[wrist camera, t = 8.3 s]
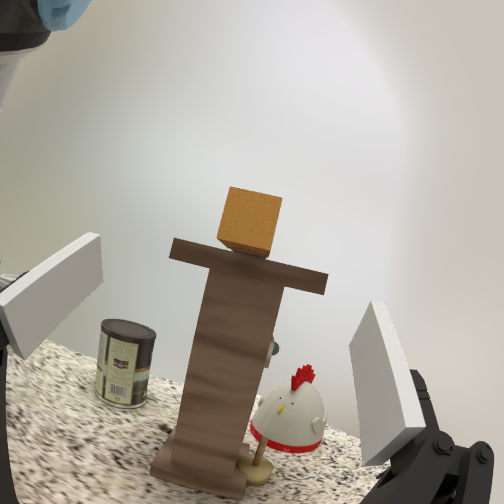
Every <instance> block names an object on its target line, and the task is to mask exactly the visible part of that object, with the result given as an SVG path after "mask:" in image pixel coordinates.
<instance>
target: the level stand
mask: <svg viewBox="0 0 504 504" xmlns="http://www.w3.org/2000/svg"><path fill="white" fill-rule="evenodd" d="M169 258H171V259H175V260H179V261H183V262H186V263H191V264H194V265H199V266H202V267H206V268H210V270H209V274H208V278H207V283H206V287H205V291H204V295H203V300H202V304H201V309H200V313H199V317H198V322H197V327H196V331H195V336H194V340H193V345H192V350H191V354H190V359H189V364H188V369H187V374H186V379H185V384H184V389H183V394H182V399H181V404H180V410H179V415H178V421H177V425H176V426H175V427H174V429H173V431H172V432H171V434H170V435H169V437H168V439H167V440H166V442H165V443H164V445H163V447H162V448H161V450H160V451H159V453H158V455H157V456H156V458H155V459H154V461H153V462H152V464H151V469H150V475H152V476H155V477H158V478H161V479H163V480H166V481H169V482H172V483H175V484H179V485H182V486H185V487H189V488H192V489H196V490H200V491H203V492H207V493H211V494H216V495H220V496H225V497H229V498H235V499H240V500H242V498H243V496H244V493H245V490H246V485H250V486H261V485H264V484H266V483H267V482H268V480H269V477H270V475H271V472H272V470H273V465H272V464H271V462H270V461H268V460H267V459H265V458H263V457H262V456H263V453H264V450H265V447H266V444H267V441H268V438H267V437H261V439H260V442H259V445H258V448H257V451H256V454H255V455H249V446H250V444H246V443H242V442H243V439H244V435H245V432H246V429H247V425H248V422H249V419H250V415H251V412H252V408H253V405H254V401H255V398H256V394H257V391H258V387H259V383H260V380H261V376H262V372H263V369H264V367H265V368H268V367H269V363H270V359H271V356H272V355H276V354H277V353H278V352H279V345H278V344H277V343H276V342H274V338H273V331H274V327H275V322H276V319H277V315H278V311H279V307H280V302H281V298H282V294H283V290H284V286H285V287H290V288H295V289H299V290H303V291H307V292H312V293H316V294H321V295H324V292H325V287H326V283H327V279H328V274H326V273H321V272H317V271H313V270H309V269H304V268H300V267H296V266H291V265H287V264H283V263H279V262H274V261H270V260H266V259H262V258H257V257H253V256H249V255H245V254H240V253H236V252H232V251H228V250H223V249H219V248H215V247H211V246H206V245H202V244H198V243H194V242H189V241H186V240H181V239H177V238H174V240H173V244H172V248H171V252H170V256H169Z"/></svg>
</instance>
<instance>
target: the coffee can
mask: <svg viewBox="0 0 504 504" xmlns="http://www.w3.org/2000/svg"><path fill="white" fill-rule="evenodd" d="M155 339H156V332H155V331H154V330H152V329H150V328H149V327H147V326H144V325H141V324H138V323H135V322H131V321H127V320H121V319H105V320H103V321H102V322H101V334H100V342H99V351H98V361H97V373H96V386H95V393H96V395H97V396H98V397H99V399H101V400H102V401H103V402H105V403H107V404H109V405H112V406H115V407H119V408H127V409H131V408H138V407H140V406H142V405H144V404H145V402H146V394H147V385H148V378H149V372H150V365H151V359H152V353H153V347H154V342H155Z"/></svg>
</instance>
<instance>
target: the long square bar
mask: <svg viewBox="0 0 504 504" xmlns="http://www.w3.org/2000/svg"><path fill="white" fill-rule="evenodd" d="M281 202H282V198H281V197H276V196H272V195H267V194H263V193H258V192H254V191H249V190H244V189H240V188H235V187H230V188H229V192H228V196H227V200H226V203H225V207H224V211H223V215H222V218H221V222H220V226H219V230H218V234H217V239H218V240H220V241H221V242H222V243H223V244H224V245H225V246H226V247H227V248H230V249H231V250H232V251H233V252H236V253H240V254H245V255H249V256H253V257H257V258H262V259H266V258H267V257H269V254H270V250H271V246H272V241H273V237H274V233H275V229H276V224H277V220H278V215H279V211H280V206H281Z"/></svg>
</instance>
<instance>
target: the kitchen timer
mask: <svg viewBox="0 0 504 504" xmlns="http://www.w3.org/2000/svg"><path fill="white" fill-rule="evenodd" d="M311 367H312V366H311V365H308V364H307V366H303V368H302V369H301V368H298V370H297V373H296V376H292V379H291V381H289V382H287V383H284V384H283V385H281V386H279V387H277V388H276V389H275V390H273V391H272V392H271V393H270V394H269V395H267V394H264V395H263V396H262V398H261V400H260V402H259V404H258V406H259V408H258V410H257V411H256V413H255V415H254V417H253V419H252V422H251V425H250V431H251V433H252V434H253V436H254V437H255V438H256V439H257V440H258V441H259V442H260V439H261V437H267V438H268V441H267V444H266V446H268V447H270V448H273V449H276V450H279V451H283V452H289V453H304V452H308V451H312V450H313V449H315V448H317V447H318V445H319V444H320V442H321V439H322V437H323V432H324V428H325V425H326V420H327V415H328V412H324V406H323V403H322V399H321V397H320V395H319V393H318V392H317V390H316V389H315V388H314V387H313V386H312V385H311V383H312V381H313V379H314V377H315V374H313V371H314V370H312V369H311Z"/></svg>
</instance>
